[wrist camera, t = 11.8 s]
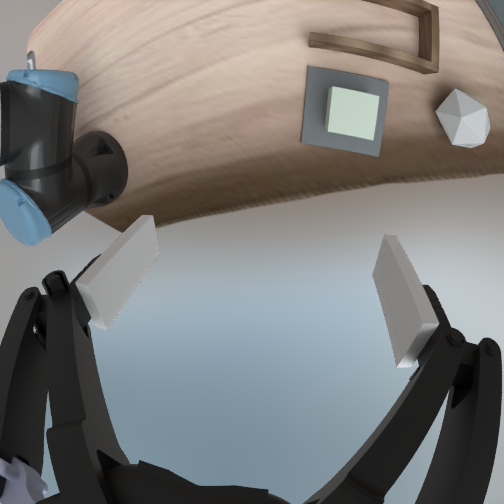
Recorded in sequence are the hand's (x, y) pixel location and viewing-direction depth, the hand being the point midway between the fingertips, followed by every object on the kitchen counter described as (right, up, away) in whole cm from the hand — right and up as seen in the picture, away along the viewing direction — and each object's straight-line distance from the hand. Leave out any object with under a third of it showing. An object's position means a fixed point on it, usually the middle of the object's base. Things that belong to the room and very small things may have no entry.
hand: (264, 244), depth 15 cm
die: (+31, +21, +15) cm, 40 cm away
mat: (+13, +20, +19) cm, 31 cm away
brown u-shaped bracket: (+17, +32, +11) cm, 38 cm away
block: (+13, +20, +19) cm, 30 cm away
